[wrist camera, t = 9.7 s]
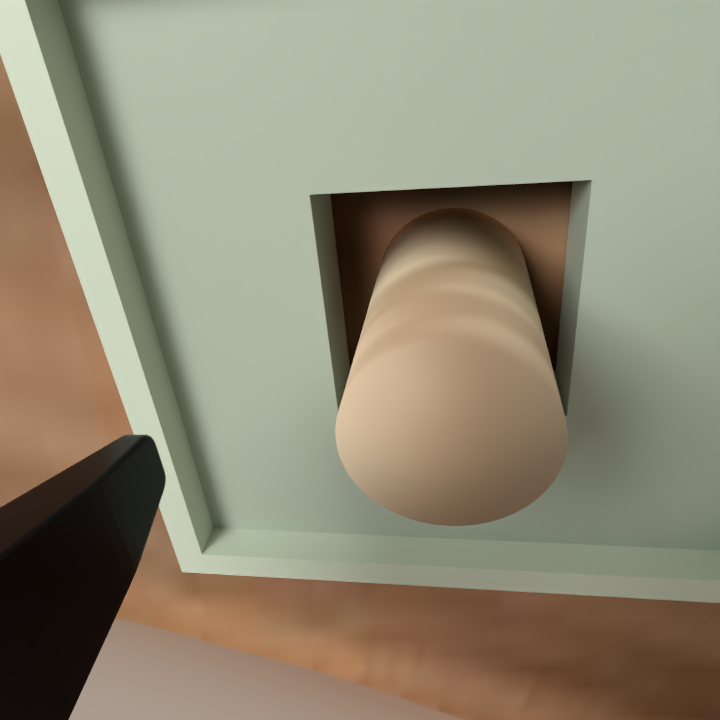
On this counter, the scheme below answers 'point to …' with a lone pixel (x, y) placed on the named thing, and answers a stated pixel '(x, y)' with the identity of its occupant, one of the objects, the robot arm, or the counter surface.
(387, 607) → the counter surface
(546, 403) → the peg
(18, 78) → the box
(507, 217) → the counter surface
